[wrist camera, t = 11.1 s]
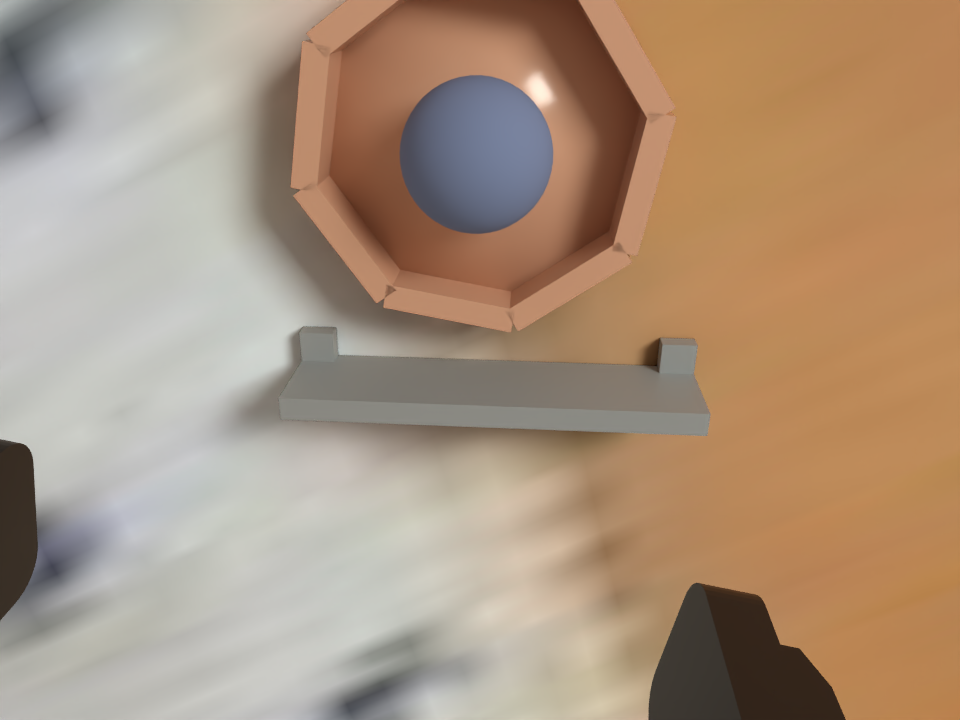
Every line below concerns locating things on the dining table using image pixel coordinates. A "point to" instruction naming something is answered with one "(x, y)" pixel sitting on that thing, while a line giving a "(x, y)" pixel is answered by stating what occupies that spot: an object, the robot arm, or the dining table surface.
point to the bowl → (569, 115)
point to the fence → (496, 391)
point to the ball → (476, 154)
